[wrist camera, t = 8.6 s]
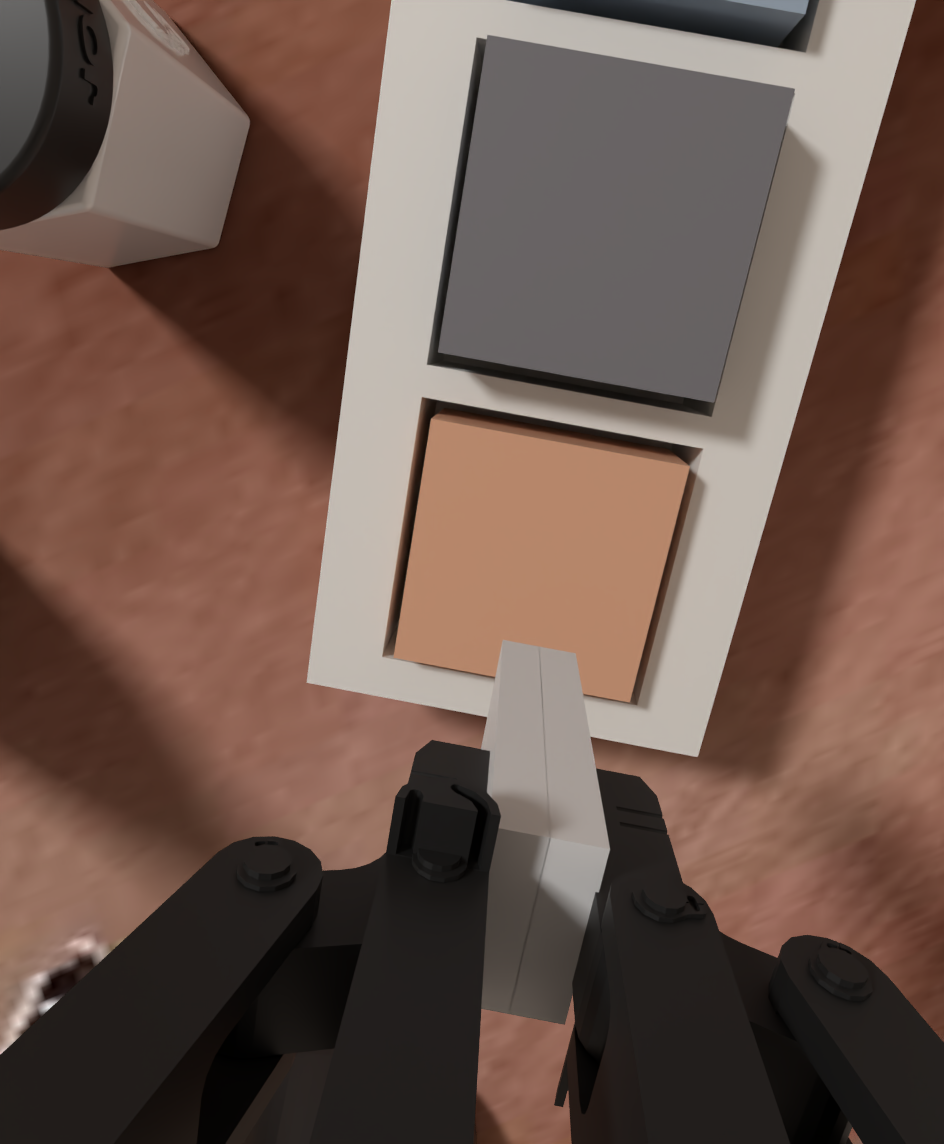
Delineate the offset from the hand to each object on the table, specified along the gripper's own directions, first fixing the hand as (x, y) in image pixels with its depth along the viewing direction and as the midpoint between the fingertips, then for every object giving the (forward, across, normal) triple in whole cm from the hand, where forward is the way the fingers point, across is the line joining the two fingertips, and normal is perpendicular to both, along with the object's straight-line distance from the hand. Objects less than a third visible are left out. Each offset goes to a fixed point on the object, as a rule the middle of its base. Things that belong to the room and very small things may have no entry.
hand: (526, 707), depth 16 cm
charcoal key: (+13, 0, -10) cm, 16 cm away
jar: (+17, +17, -12) cm, 26 cm away
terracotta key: (+14, 0, 0) cm, 14 cm away
